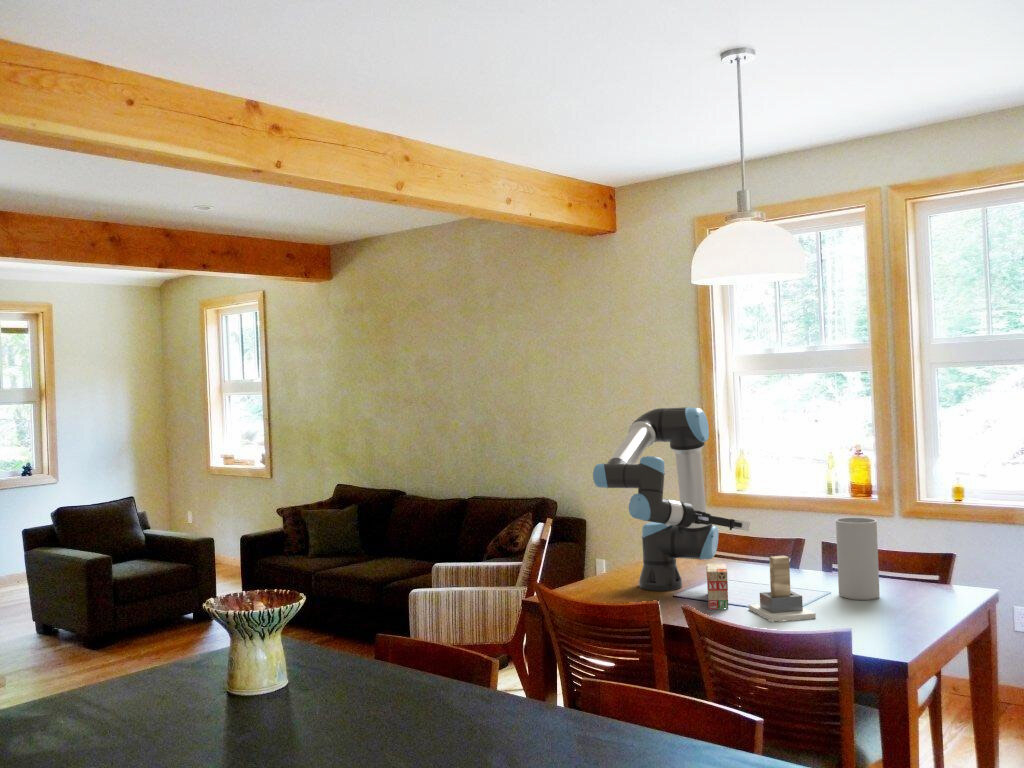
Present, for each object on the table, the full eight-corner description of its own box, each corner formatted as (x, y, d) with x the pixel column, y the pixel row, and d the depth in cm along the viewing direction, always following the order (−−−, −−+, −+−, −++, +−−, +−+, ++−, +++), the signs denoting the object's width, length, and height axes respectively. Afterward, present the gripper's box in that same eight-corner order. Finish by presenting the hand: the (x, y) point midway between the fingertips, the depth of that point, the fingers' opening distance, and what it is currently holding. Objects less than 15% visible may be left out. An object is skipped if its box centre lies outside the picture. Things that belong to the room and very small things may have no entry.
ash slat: (771, 608, 273) (769, 556, 273) (786, 607, 274) (784, 555, 274) (775, 610, 270) (773, 558, 270) (791, 609, 271) (789, 557, 271)
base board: (748, 609, 278) (748, 604, 278) (790, 606, 281) (789, 601, 281) (772, 622, 263) (772, 617, 263) (815, 618, 265) (815, 613, 265)
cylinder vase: (838, 599, 287) (835, 522, 287) (838, 591, 298) (835, 517, 299) (880, 601, 282) (877, 523, 283) (878, 592, 294) (875, 517, 294)
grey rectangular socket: (760, 607, 275) (759, 592, 275) (790, 604, 277) (789, 590, 277) (772, 613, 267) (771, 598, 267) (802, 610, 269) (802, 595, 269)
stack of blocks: (707, 594, 302) (706, 558, 302) (726, 594, 301) (724, 558, 301) (708, 609, 281) (707, 570, 281) (728, 609, 280) (727, 570, 280)
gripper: (655, 521, 281) (711, 531, 288) (697, 530, 258) (758, 541, 264) (659, 498, 282) (715, 508, 289) (701, 505, 258) (761, 516, 265)
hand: (735, 524), depth 277 cm, fingers open, 13 cm apart
